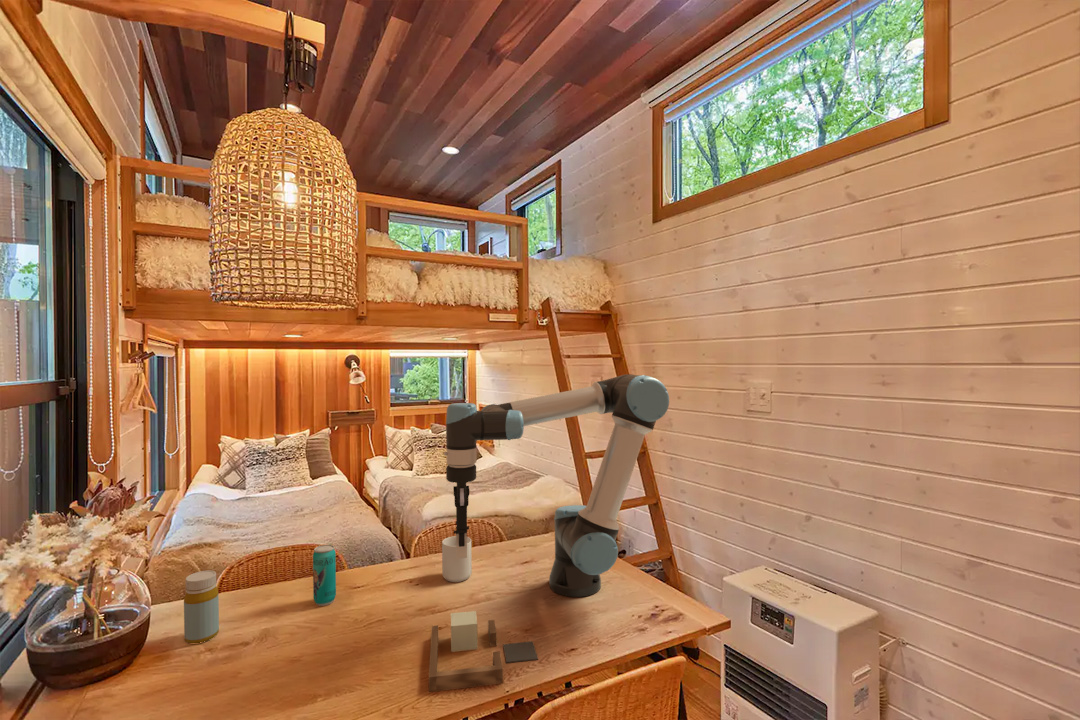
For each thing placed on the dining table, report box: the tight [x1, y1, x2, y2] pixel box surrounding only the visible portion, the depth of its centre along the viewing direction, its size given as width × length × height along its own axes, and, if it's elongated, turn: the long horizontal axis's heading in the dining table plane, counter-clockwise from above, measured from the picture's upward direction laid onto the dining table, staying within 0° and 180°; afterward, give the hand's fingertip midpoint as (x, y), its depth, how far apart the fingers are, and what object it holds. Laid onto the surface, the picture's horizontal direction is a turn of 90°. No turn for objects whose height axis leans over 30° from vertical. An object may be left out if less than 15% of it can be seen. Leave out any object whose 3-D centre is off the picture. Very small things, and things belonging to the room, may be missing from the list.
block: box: [450, 610, 478, 653], centre depth 122 cm, size 6×6×6 cm
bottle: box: [183, 570, 220, 644], centre depth 125 cm, size 7×7×15 cm
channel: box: [428, 619, 504, 693], centre depth 116 cm, size 15×20×3 cm
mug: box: [441, 535, 473, 583], centre depth 160 cm, size 12×9×11 cm
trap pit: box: [502, 640, 539, 664], centre depth 118 cm, size 7×7×1 cm
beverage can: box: [312, 544, 337, 607], centre depth 142 cm, size 6×6×15 cm
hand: (461, 557), depth 131 cm, fingers closed
